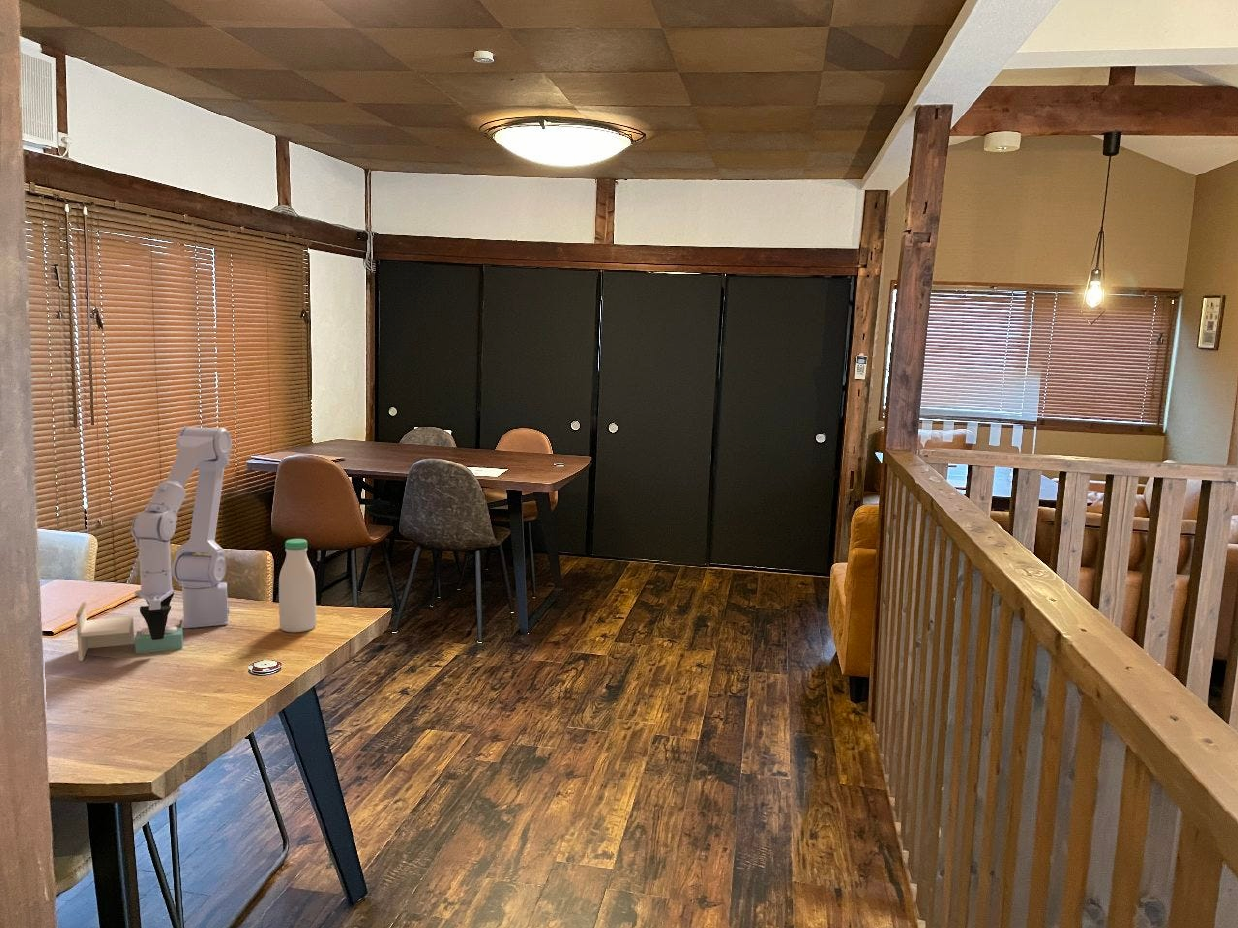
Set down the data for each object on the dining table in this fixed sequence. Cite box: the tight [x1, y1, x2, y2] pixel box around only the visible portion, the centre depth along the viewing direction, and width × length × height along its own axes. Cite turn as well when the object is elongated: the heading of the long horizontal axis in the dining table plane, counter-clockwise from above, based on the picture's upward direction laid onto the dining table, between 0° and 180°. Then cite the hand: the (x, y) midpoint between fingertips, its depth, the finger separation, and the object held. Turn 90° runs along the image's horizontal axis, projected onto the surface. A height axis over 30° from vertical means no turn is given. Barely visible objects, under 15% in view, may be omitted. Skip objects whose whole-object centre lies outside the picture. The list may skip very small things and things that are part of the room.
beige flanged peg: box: [75, 602, 135, 662], centre depth 183 cm, size 9×8×10 cm
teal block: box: [134, 625, 184, 654], centre depth 187 cm, size 8×4×4 cm, turn 113°
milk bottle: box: [278, 538, 317, 633], centre depth 200 cm, size 8×8×20 cm
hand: (159, 632), depth 187 cm, fingers open, 7 cm apart
